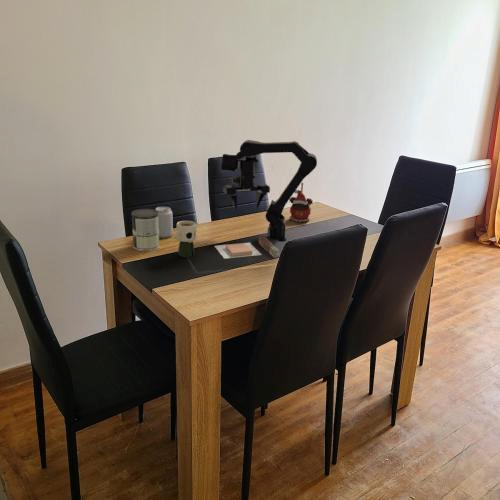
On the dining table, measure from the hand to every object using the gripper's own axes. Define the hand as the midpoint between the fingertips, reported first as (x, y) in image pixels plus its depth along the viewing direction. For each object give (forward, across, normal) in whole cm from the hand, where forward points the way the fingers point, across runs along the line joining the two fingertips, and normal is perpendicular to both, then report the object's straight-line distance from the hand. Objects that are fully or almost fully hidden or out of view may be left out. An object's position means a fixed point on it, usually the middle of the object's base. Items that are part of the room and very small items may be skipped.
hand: (245, 209), depth 211 cm
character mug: (+12, +29, +16) cm, 35 cm away
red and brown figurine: (+12, -33, -16) cm, 39 cm away
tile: (+10, +9, +14) cm, 20 cm away
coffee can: (+12, +42, +2) cm, 44 cm away
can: (+12, +33, -9) cm, 36 cm away
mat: (+12, +9, +17) cm, 23 cm away
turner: (+12, -3, +20) cm, 23 cm away
